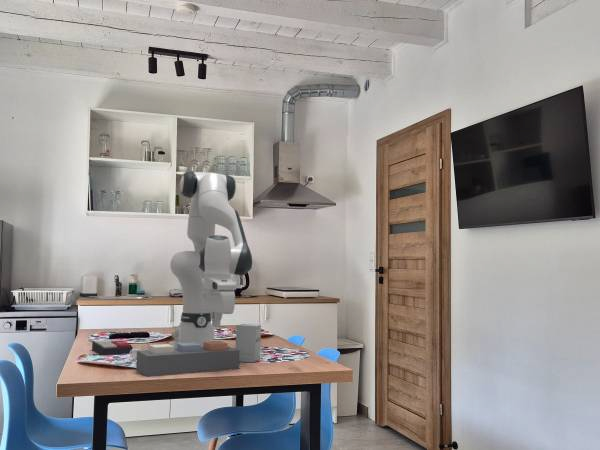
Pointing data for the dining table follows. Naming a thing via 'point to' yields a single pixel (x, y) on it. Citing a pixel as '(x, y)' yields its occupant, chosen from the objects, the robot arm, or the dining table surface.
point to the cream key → (161, 349)
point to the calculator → (111, 347)
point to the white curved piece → (133, 354)
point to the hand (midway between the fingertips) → (216, 326)
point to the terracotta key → (215, 345)
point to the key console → (186, 361)
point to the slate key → (188, 347)
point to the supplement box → (248, 342)
